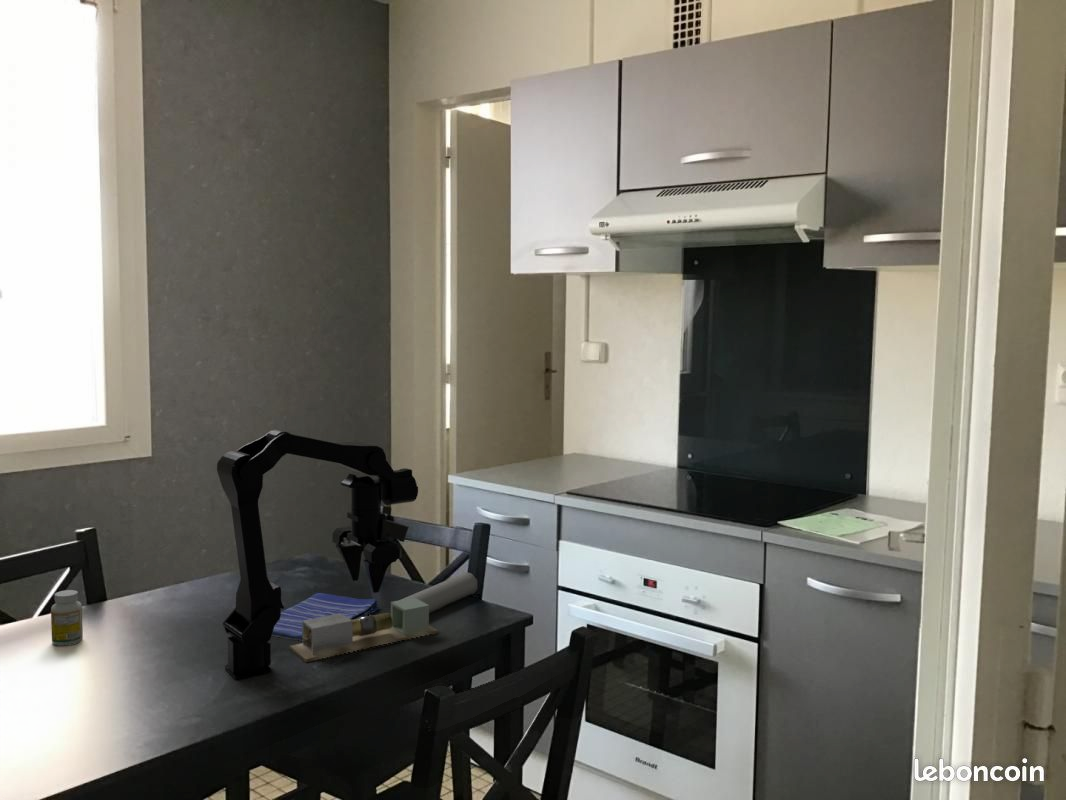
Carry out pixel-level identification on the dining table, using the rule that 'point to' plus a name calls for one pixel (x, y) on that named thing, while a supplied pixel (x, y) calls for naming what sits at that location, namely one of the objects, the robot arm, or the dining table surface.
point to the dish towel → (320, 612)
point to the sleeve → (327, 633)
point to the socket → (410, 616)
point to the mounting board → (360, 643)
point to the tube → (447, 591)
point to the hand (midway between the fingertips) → (365, 586)
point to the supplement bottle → (66, 619)
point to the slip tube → (369, 624)
